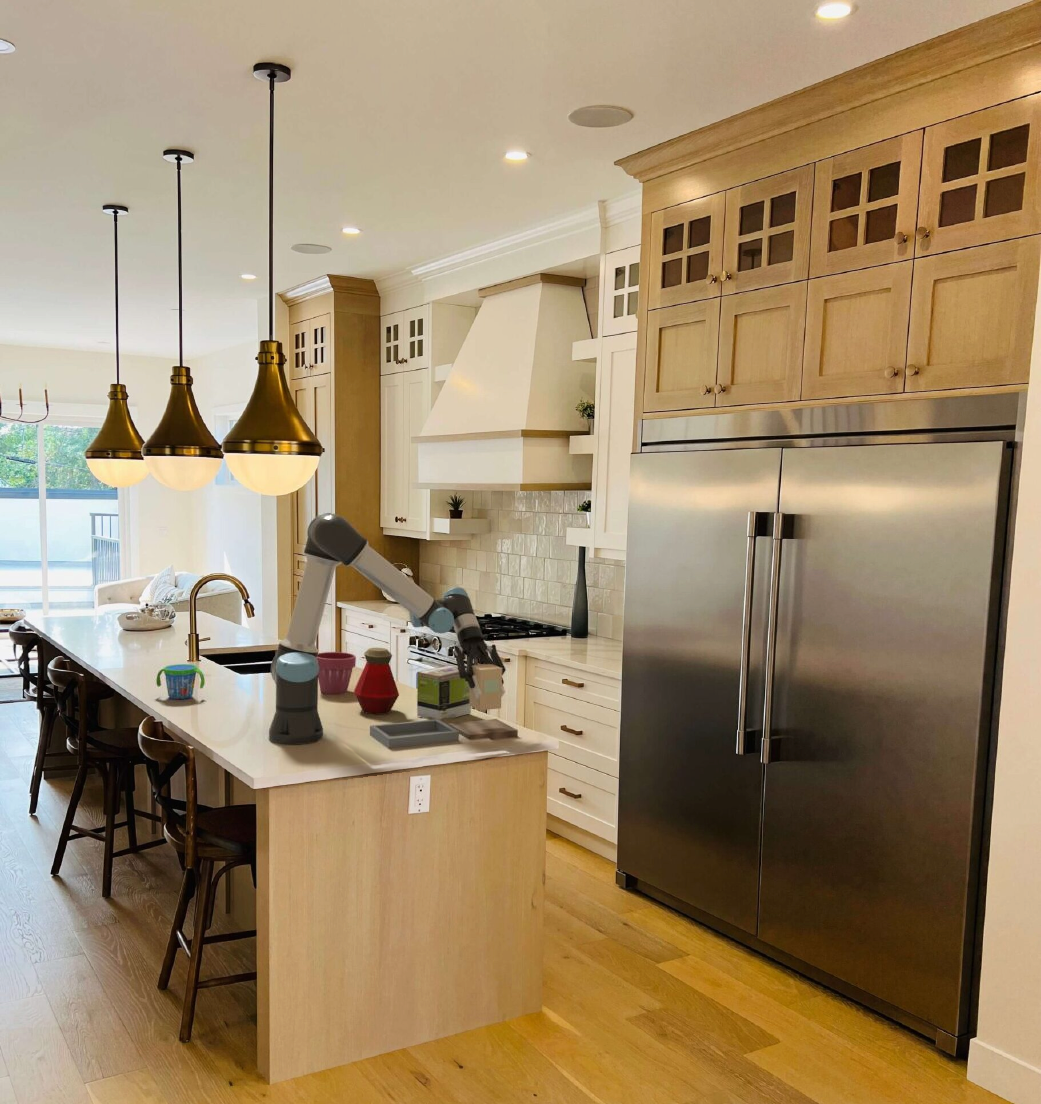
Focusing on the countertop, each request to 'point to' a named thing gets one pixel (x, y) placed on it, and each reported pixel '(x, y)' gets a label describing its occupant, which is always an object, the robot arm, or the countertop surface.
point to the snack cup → (180, 680)
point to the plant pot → (335, 671)
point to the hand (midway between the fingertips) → (490, 695)
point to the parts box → (487, 687)
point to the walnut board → (485, 729)
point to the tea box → (442, 693)
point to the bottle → (376, 683)
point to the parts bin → (413, 733)
